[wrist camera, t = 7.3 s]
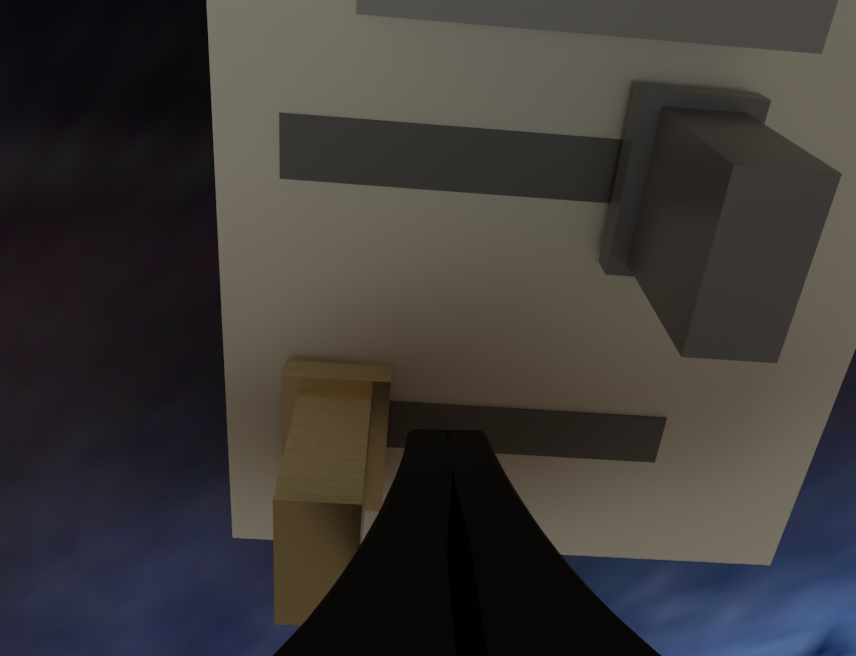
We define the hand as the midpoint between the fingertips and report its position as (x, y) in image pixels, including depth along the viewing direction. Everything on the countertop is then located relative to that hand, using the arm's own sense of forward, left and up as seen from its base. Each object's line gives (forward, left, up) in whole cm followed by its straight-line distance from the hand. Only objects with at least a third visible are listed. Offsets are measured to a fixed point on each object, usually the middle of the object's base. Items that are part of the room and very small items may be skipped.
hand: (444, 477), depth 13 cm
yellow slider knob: (+1, -2, -1) cm, 2 cm away
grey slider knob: (-6, 0, -1) cm, 6 cm away
